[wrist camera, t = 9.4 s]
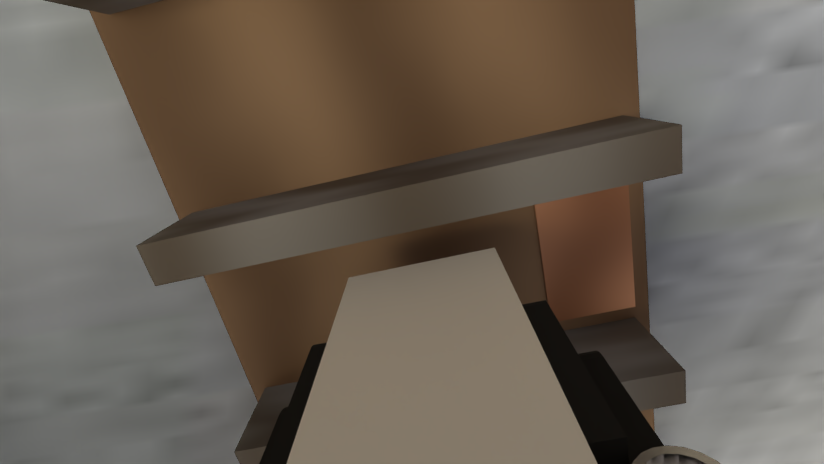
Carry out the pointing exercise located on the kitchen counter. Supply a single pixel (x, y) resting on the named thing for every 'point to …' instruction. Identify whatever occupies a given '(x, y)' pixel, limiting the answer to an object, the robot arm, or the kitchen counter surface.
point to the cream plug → (436, 374)
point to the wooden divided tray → (396, 163)
